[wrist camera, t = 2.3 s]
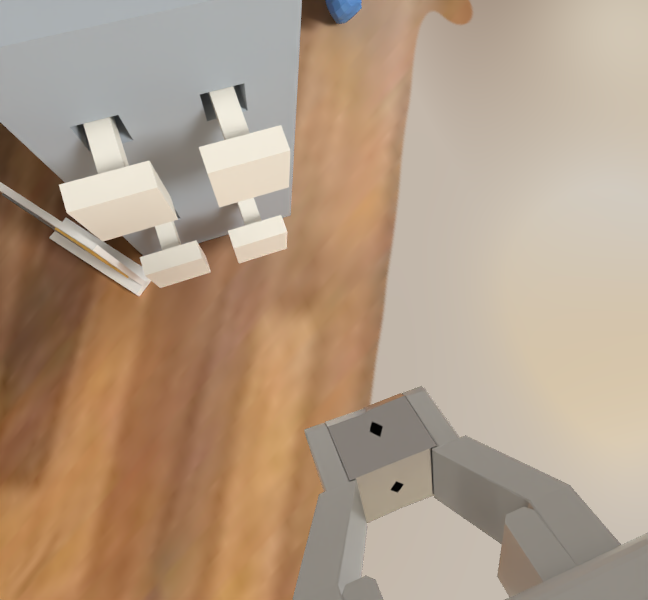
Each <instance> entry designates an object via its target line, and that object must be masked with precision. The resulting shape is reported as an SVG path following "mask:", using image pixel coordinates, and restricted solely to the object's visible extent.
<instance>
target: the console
mask: <svg viewBox="0 0 648 600" xmlns="http://www.w3.org/2000/svg"><path fill="white" fill-rule="evenodd" d="M301 9H302V0H0V122H1V123H2V124H3V125H4V126H5V127H6V128H7V129H8V130H9V131H10V132H11V133H13V134H14V135H15V136H16V137H17V138H18V139H19V140H20V141H21V142H22V143H23V144H24V145H25V146H26V147H27V148H29V149H30V150H31V151H32V152H33V153H34V154H35V155H36V156H37V157H38V158H39V159H40V160H41V161H42V162H44V163H45V164H46V165H47V166H48V167H49V168H50V169H51V170H52V171H53V172H54V173H55V174H56V175H57V176H58V177H60V178H61V179H62V180H63V181H64V182H65V183H67V182H71V181H74V180H78V179H82V178H85V177H89V176H93V175H97V174H98V172H97V169H96V165H95V162H94V159H93V155H92V152H91V148H90V145H89V142H88V138H87V135H86V131H85V128H84V125H83V124H84V123H88V122H92V121H96V120H100V119H104V118H108V117H112V116H114V118H115V122H116V125H117V128H118V132H119V135H120V138H121V141H122V145H123V148H124V151H125V154H126V158H127V161H128V164H129V166H130V165H134V164H138V163H141V162H145V161H150V162H151V164H152V166H153V168H154V169H155V171H156V173H157V174H158V176H159V178H160V179H161V181H162V183H163V185H164V186H165V188H166V190H167V191H168V193H169V195H170V196H171V199H172V202H173V206H174V209H175V212H176V215H177V218H178V220H175V221H174V223H175V226H176V230H177V233H178V236H179V239H180V242H181V245H182V244H185V243H189V242H192V241H195V240H196V241H197V242H198V243H200V242H204V241H207V240H210V239H214V238H217V237H220V236H224V235H227V234H229V233H228V231H229V230H232V229H235V228H239V227H242V226H245V224H244V221H243V218H242V215H241V212H240V210H239V207H238V204H237V203H233V204H230V205H226V206H223V207H220V208H219V205H218V202H217V199H216V197H215V194H214V191H213V188H212V185H211V182H210V179H209V177H208V174H207V171H206V168H205V165H204V162H203V159H202V156H201V153H200V150H199V147H201V146H205V145H208V144H212V143H216V142H219V141H223V140H224V138H223V135H222V132H221V129H220V126H219V123H218V120H217V117H216V115H215V112H214V109H213V106H212V103H211V100H210V97H209V94H208V92H212V91H216V90H220V89H223V88H227V87H231V86H233V87H234V90H235V93H236V95H237V98H238V101H239V104H240V107H241V109H242V112H243V115H244V118H245V121H246V124H247V126H248V129H249V132H250V133H253V132H257V131H260V130H264V129H268V128H272V127H275V126H279V125H281V126H282V129H283V131H284V134H285V137H286V140H287V142H288V145H289V148H290V175H289V187H288V188H285V189H281V190H278V191H274V192H271V193H268V194H264V195H261V196H257V197H254V200H255V203H256V206H257V209H258V211H259V214H260V217H261V220H265V219H269V218H272V217H275V216H279V215H281V216H282V218H283V217H287V216H290V215H291V196H292V177H293V159H294V140H295V121H296V102H297V84H298V65H299V46H300V28H301ZM123 237H124V238H125V239H126V240H127V241H128V242H129V243H130V244H131V245H132V246H133V247H134V248H135V249H137V250H138V251H139V252H140V253H141V254H142V255H143V256H145V255H149V254H152V253H155V252H159V251H162V248H161V245H160V241H159V238H158V235H157V232H156V228H155V226H154V227H151V228H148V229H144V230H141V231H137V232H134V233H130V234H127V235H123Z"/></svg>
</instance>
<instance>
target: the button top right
mask: <svg viewBox="0 0 648 600" xmlns="http://www.w3.org/2000/svg"><path fill="white" fill-rule="evenodd" d="M208 94H209V97H210V100H211V103H212V106H213V109H214V112H215V115H216V117H217V120H218V123H219V126H220V129H221V132H222V135H223V138H224V140H223V141H219V142H216V143H212V144H208V145H205V146H201V147H199V150H200V153H201V156H202V159H203V162H204V165H205V168H206V171H207V174H208V177H209V179H210V182H211V185H212V188H213V191H214V194H215V197H216V199H217V202H218V205H219V208H220V207H223V206H226V205H230V204H233V203H237V202H240V201H244V200H247V199H250V198H254V197H257V196H261V195H264V194H268V193H271V192H274V191H278V190H281V189H285V188H288V187H289V175H290V148H289V145H288V142H287V140H286V137H285V134H284V131H283V129H282V126H281V125H279V126H275V127H272V128H268V129H264V130H260V131H257V132H253V133H250V132H249V129H248V126H247V124H246V121H245V118H244V115H243V112H242V109H241V107H240V104H239V101H238V98H237V95H236V93H235V90H234V87H233V86H231V87H227V88H223V89H220V90H216V91H212V92H208Z"/></svg>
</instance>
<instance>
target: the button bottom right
mask: <svg viewBox="0 0 648 600" xmlns="http://www.w3.org/2000/svg"><path fill="white" fill-rule="evenodd" d="M237 204H238V207H239V210H240V212H241V215H242V218H243V221H244V224H245V226H242V227H239V228H235V229H232V230H229V231H228V233H229V236H230V239H231V242H232V245H233V248H234V251H235V254H236V257H237V259H238V262H239V263H242V262H245V261H248V260H252V259H255V258H258V257H261V256H264V255H268V254H271V253H274V252H277V251H280V250H284V249H287V230H286V227H285V224H284V221H283V218H282V216H281V215H279V216H275V217H272V218H269V219H265V220H261V217H260V214H259V211H258V209H257V206H256V203H255V200H254V198H250V199H247V200H244V201H240V202H237Z"/></svg>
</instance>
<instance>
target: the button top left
mask: <svg viewBox="0 0 648 600" xmlns="http://www.w3.org/2000/svg"><path fill="white" fill-rule="evenodd" d="M83 125H84V128H85V131H86V135H87V138H88V142H89V145H90V148H91V152H92V155H93V159H94V162H95V165H96V169H97V172H98V174H97V175H93V176H89V177H85V178H82V179H78V180H74V181H71V182H67V183H63V184H59V187H60V191H61V194H62V198H63V201H64V205H65V209H66V212H67V213H68V214H69V215H70V216H71V217H73V218H74V219H75V220H76V221H78V222H79V223H80V224H81V225H83V226H84V227H85V228H86V229H88V230H89V231H90V232H91V233H93V234H94V235H95V236H96V237H98V238H99V239H100V240H101V241H106V240H110V239H113V238H117V237H120V236H123V235H127V234H130V233H134V232H137V231H141V230H144V229H148V228H151V227H154V226H158V225H161V224H165V223H168V222H172V221H175V220H178V218H177V215H176V212H175V209H174V206H173V202H172V199H171V196H170V195H169V193H168V191H167V190H166V188H165V186H164V185H163V183H162V181H161V179H160V178H159V176H158V174H157V173H156V171H155V169H154V168H153V166H152V164H151V162H150V161H145V162H141V163H138V164H134V165H130V166H129V164H128V161H127V158H126V154H125V151H124V148H123V145H122V141H121V138H120V135H119V132H118V128H117V125H116V122H115V118H114V116H112V117H108V118H104V119H100V120H96V121H92V122H88V123H84V124H83Z"/></svg>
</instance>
